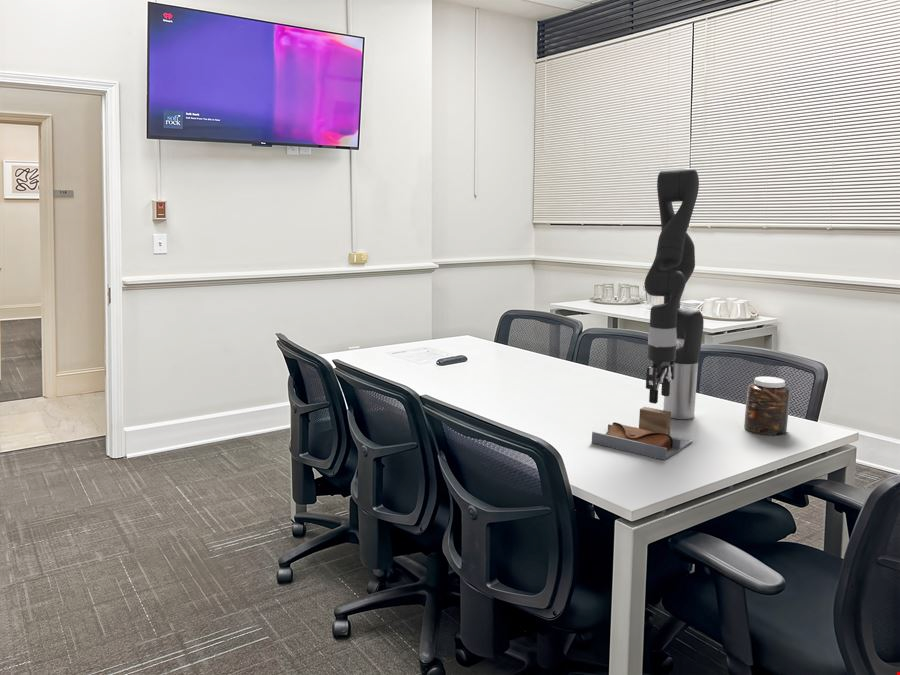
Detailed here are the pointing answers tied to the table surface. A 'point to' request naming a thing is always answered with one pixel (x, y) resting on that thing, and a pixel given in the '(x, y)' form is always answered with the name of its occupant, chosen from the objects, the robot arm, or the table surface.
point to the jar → (767, 406)
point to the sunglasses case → (640, 435)
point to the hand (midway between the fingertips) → (659, 399)
